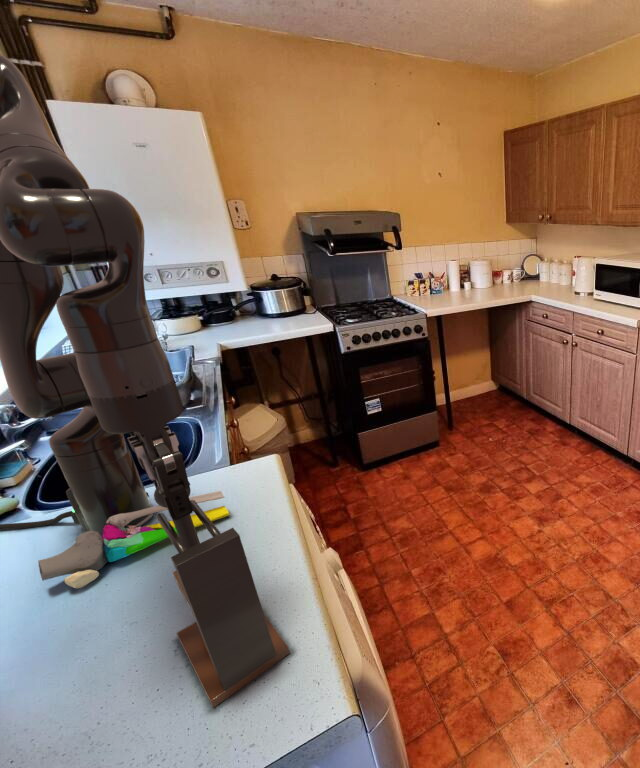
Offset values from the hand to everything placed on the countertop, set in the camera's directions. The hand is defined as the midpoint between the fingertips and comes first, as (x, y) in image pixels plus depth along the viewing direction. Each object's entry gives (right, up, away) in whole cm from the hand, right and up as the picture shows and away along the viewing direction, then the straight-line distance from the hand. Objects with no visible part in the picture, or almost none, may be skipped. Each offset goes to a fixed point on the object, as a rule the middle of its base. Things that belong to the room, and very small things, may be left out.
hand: (178, 508), depth 55 cm
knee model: (-22, -13, +22) cm, 33 cm away
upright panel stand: (+4, -19, +4) cm, 20 cm away
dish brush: (0, -13, +5) cm, 14 cm away
